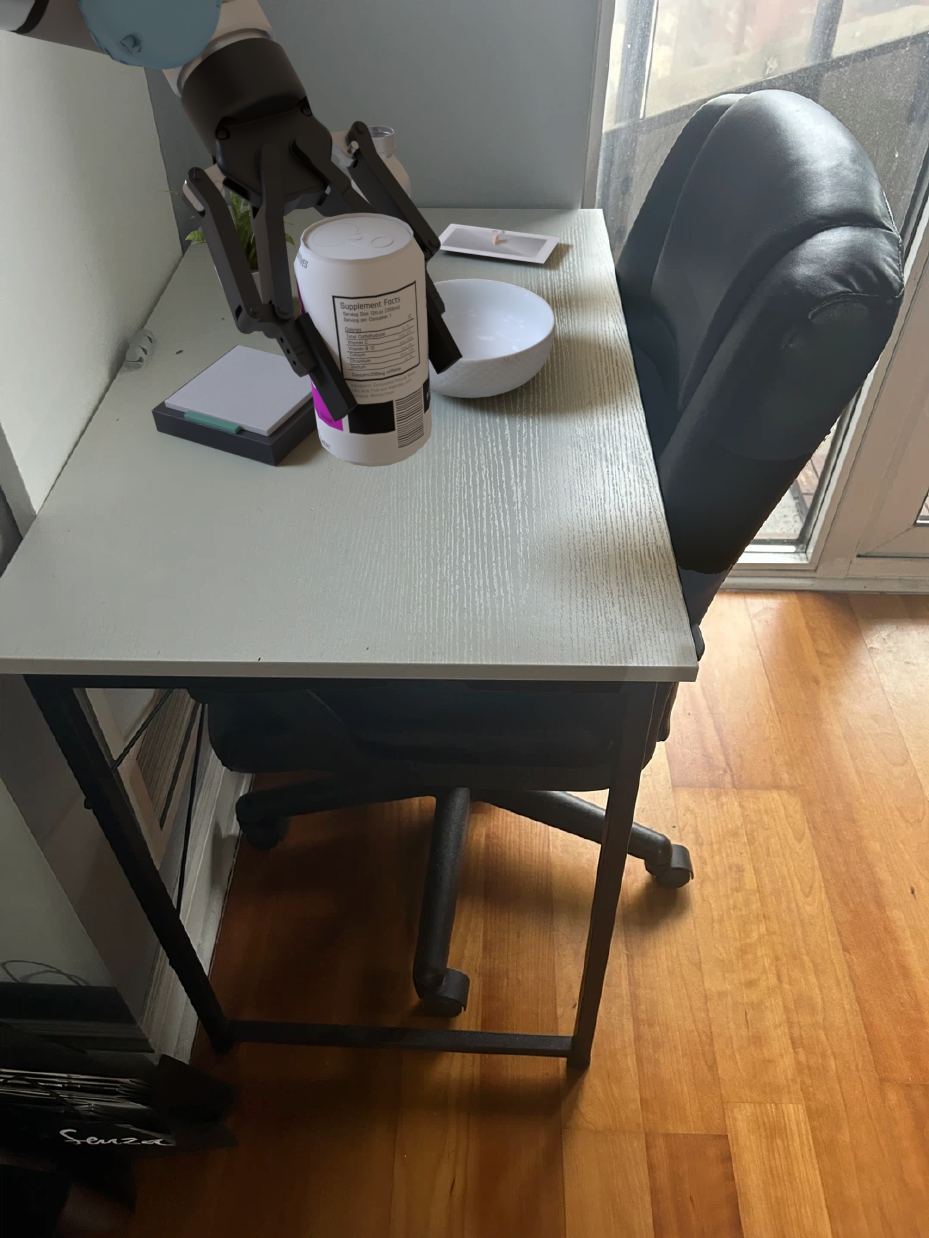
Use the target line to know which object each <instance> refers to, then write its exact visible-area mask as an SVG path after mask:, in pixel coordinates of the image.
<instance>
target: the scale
mask: <svg viewBox="0 0 929 1238" xmlns="http://www.w3.org/2000/svg"><path fill="white" fill-rule="evenodd" d="M151 414H152V418H153V420H154V424H155V427H156V431H157V432H159V433H163V434H166V435H170V436H172V437H176V438H179V439H183V440H187V441H189V442H193V443H196V444H199V445H203V446H205V447H209V448H213V449H216V450H219V451H222V452H226V453H229V454H232V455H236V456H240V457H242V458H246V459H249V460H253V461H255V462H258V463H259V462H260V463H263V464H266V465H269V466H273V467H276V466H277V465H279V464H280V463H281V462H282V461H283V460H284V459H285V458H286V457H288V455H289V454H290V453H291V452H293V450H294V449H295V448H297V447H298V446H299V445H300V444H301V443H302V442H303V441H304V440H305V439H306V438H307V437H309V436H310V434H312V432H314V431H315V430H316V429H318V427H317V421H316V414H315V407H314V400H313V393H312V386H311V379H310V376H309V374H308V375H305V376H303V377H301V378H300V377H299V376H298V375H297V374H296V373H295V372H294V371H293V369H292V367H291V365H290V363H289V362H288V360H287V358H286V356H285V355H280V354H277V353H273V352H269V351H266V350H260V349H256V348H253V347H250V346H249V347H248V346H245V345H241V344H236V345H234V346H233V347H232V348H231V349H229V350H228V351H227V352H225V353H224V354H223V355H222V356H220V357H219V358H218V359H217V360H215V361H214V362H213V363H211V364H210V365H209V366H207V367H206V368H204V369H203V370H202V371H201V372H199V373H198V374H197V375H195V376H194V377H193V378H191V379H190V380H189V381H188V382H186V383H185V384H183V386H181V387H180V388H178V389H177V390H175V391H174V392H173V393H172V394H171V395H169V396H168V397H166V398H165V399H164V400H163V401H161V402H160V403H159V404H157V405H156V406H155V407H154V408H152V409H151Z"/></svg>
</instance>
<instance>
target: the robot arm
mask: <svg viewBox="0 0 929 1238" xmlns="http://www.w3.org/2000/svg"><path fill="white" fill-rule="evenodd" d="M0 30H1V31H6V32H8V33H9V32H10V33H13V34H16V35H19V36H23V37H27V38H31V39H35V40H41V41H45V42H49V43H54V44H58V45H59V44H60V45H64V46H68V47H72V48H77V49H82V50H87V51H91V52H95V53H98V54H101V55H106V56H108V57H109V58H110V59H111V60H113V61H115V62H117V63H120V64H123V65H125V66H132V67H140V68H144V67H145V68H148V69H151V70H152V69H153V70H161V71H162V73H163V75H164V76H165V78H166V80H167V82H168V84H169V85H170V88H171V90H172V92H173V93H174V95H176V96H177V97H178V98H180V104H181V108H182V109H183V111H184V113H185V115H186V117H187V118H188V120H189V122H190V124H191V126H192V128H193V129H194V131H195V133H196V135H197V137H198V139H199V140H200V142H201V144H202V146H203V148H204V150H205V151H206V152H207V153H209V154H210V156H211V160H212V164H211V166H208V167H206V168H205V169H203V168H202V167H198V166H192V167H191V168H189V169H188V172H187V175H186V177H185V180H184V183H183V185H182V188H181V191H180V194H181V195H180V199H181V200H182V202H183V204H184V205H185V206H186V207H187V209H188V210H189V212H190V213H191V214H192V215H193V218H195V219H196V221H197V222H198V224H199V225H200V228H201V231H202V232H203V234H204V237H205V240H206V242H207V243H206V245H207V248H208V252H209V254H210V257H211V260H212V262H213V264H214V265H215V267H214V269H215V268H216V270H215V272H216V271H217V272H216V274H217V273H218V275H217V277H218V276H219V278H218V280H219V279H220V280H219V282H221V283H220V286H221V288H222V287H223V288H222V291H223V290H224V291H223V294H224V295H225V298H226V302H227V304H228V308H229V310H230V313H231V316H232V318H233V321H234V324H235V327H236V329H237V331H239V332H240V333H241V334H244V335H251V334H252V333H254V332H262V334H263V335H264V336H265V337H266V338H268V339H270V340H274V339H275V340H276V343H278V346H279V348H280V349H281V352H282V353H283V356H285V357H286V358H287V360H288V362H289V363H290V365H291V367H292V369H293V371H294V372H295V373H296V374H297V375H298V376H299V377H300V378H301V377H303V376H305V375H308V374H309V376H310V378H311V380H312V382H313V384H314V385H315V387H316V389H317V391H318V393H319V395H320V396H321V398H322V400H323V402H324V404H325V405H326V407H327V409H328V411H329V413H330V415H331V416H332V418H333V420H334V422H336V421H338V420H340V419H343V418H344V417H345V416H346V415H348V414H349V413H350V412H351V411H352V410H353V409H354V408H355V407H356V406H357V405H358V403H357V401H356V399H355V397H354V396H353V394H352V392H351V390H350V388H349V386H348V385H347V383H346V381H345V379H344V377H343V375H342V374H341V372H340V370H339V368H338V366H337V364H336V363H335V361H334V359H333V357H332V355H331V353H330V351H329V350H328V348H327V346H326V344H325V342H324V340H323V339H322V337H321V335H320V333H319V331H318V330H317V328H316V327H315V325H314V323H313V321H312V319H311V317H310V315H309V313H308V312H307V313H304V314H302V315H301V314H299V315H297V317H295V316H294V314H295V309H294V298H293V291H292V290H293V289H292V282H291V274H290V273H291V272H290V265H289V264H290V263H289V257H288V247H287V246H288V245H287V241H286V237H285V233H286V230H285V224H284V220H285V219H284V218H285V217H287V215H289V214H290V213H291V212H294V210H308V209H311V208H313V209H314V210H316V211H317V212H318V213H319V214H320V215H321V216H322V217H324V218H329V217H334V216H338V215H343V214H354V213H372V214H383V215H387V216H391V217H395V218H398V219H400V220H402V221H403V222H405V223H407V224H408V225H409V226H410V228H411V229H412V231H413V237H414V238H415V240H416V242H417V244H418V245H419V247H420V249H421V250H422V252H423V254H424V264H425V286H426V308H427V330H428V352H429V360H430V362H431V364H432V366H433V367H434V369H435V371H436V373H437V375H438V374H440V373H442V372H445V371H446V370H447V369H449V368H450V367H451V366H452V365H453V364H455V363H456V362H457V361H458V360H459V359H461V358H462V357H463V356H462V354H461V352H460V350H459V349H458V347H457V345H456V343H455V341H454V339H453V337H452V335H451V333H450V331H449V330H448V328H447V326H446V324H445V322H444V320H443V318H442V316H441V315H442V314H443V313H444V312H445V305H444V302H443V300H442V299H441V297H440V295H439V293H438V292H437V289H436V287H435V285H434V283H435V282H433V279H432V278H431V276H430V274H429V272H428V269H427V268H428V267H427V266H428V263H429V262H430V261H431V259H433V258H434V256H435V255H436V254H437V253H438V252H439V251H440V250H441V249H440V247H441V242H440V240H439V236H438V235H437V234H436V232H435V231H434V230H433V229H432V227H431V226H430V224H429V223H428V221H427V220H426V219H425V218H424V216H423V214H422V213H421V212H420V210H419V209H418V207H417V206H416V205H415V203H414V202H413V200H412V198H411V199H410V198H409V196H408V195H407V194H406V192H405V191H404V189H403V188H402V187H401V185H400V184H399V182H398V181H397V180H396V178H395V177H394V175H393V174H392V173H391V171H390V170H389V169H388V167H387V166H386V164H385V163H384V162H383V160H382V159H381V157H380V156H379V155H378V153H377V151H376V148H375V146H374V143H373V140H372V137H371V135H370V132H369V129H368V127H369V126H368V125H367V124H366V123H365V122H363V121H361V120H356V121H354V122H353V123H352V124H351V126H350V128H349V129H346V130H344V129H343V130H334V131H333V130H332V131H330V130H329V129H328V128H327V127H326V126H325V125H324V124H323V123H322V121H321V122H320V120H318V118H317V117H316V116H315V115H314V113H313V111H312V108H311V104H310V101H309V98H308V93H307V91H306V88H305V87H304V85H303V83H302V81H301V79H300V78H299V76H298V74H297V72H296V69H295V68H294V65H293V64H292V61H291V60H290V59H289V56H288V55H287V53H286V50H285V48H284V47H283V46H282V45H281V44H280V43H278V41H277V39H276V38H277V37H276V34H275V32H274V30H273V28H272V26H271V24H270V22H269V20H268V18H267V16H266V15H265V13H264V10H263V9H262V7H261V5H260V3H259V1H258V0H0ZM332 156H335V157H336V158H337V159H338V160H339V162H338V164H339V167H338V166H337V165H336V164H335V163H334V161H332ZM341 168H342V169H347V171H348V174H349V175H350V177H351V179H350V177H349V176H348V175H347V174H346V173H345V172H344V171H343V170H342V169H341ZM352 179H353V181H354V182H355V184H356V185H357V187H358V188H359V190H360V191H361V192H362V194H363V195H364V196H365V198H366V199H367V201H368V202H369V203H370V204H369V203H368V202H367V201H366V200H365V199H364V198H363V197H362V196H361V195H360V194H359V193H358V192H357V191H356V190H355V189H354V188H353V187H352V185H351V182H352ZM328 187H329V193H327V192H326V191H327V189H328ZM225 189H226V190H228V191H229V190H230V191H231V192H233V193H234V194H236V195H237V196H239V198H240V199H241V200H242V199H244V202H246V203H248V204H249V208H250V217H251V226H252V232H253V235H254V234H255V240H256V249H257V258H258V267H259V276H260V285H261V294H262V301H261V298H260V295H259V292H258V289H257V287H256V284H255V281H254V278H253V275H252V272H251V270H250V267H249V264H248V261H247V258H246V256H245V253H244V250H243V247H242V244H241V241H240V239H239V236H238V233H237V230H236V227H235V225H234V224H235V221H234V218H233V215H232V214H231V213H232V212H231V209H230V208H229V205H228V204H227V201H226V199H225V198H226V190H225ZM233 221H234V222H233ZM214 265H213V266H214Z"/></svg>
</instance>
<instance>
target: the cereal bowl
mask: <svg viewBox="0 0 929 1238" xmlns="http://www.w3.org/2000/svg"><path fill="white" fill-rule="evenodd" d="M433 283H434V285H435V287H436V289H437V292H438V293H439V295H440V297H441V299H442V300H443V302H444V305H445V312H444V313H443V314H442V315H441V316H442V318H443V320H444V322H445V324H446V326H447V328H448V330H449V331H450V333H451V335H452V337H453V339H454V341H455V343H456V345H457V347H458V349H459V350H460V352H461V354H462V356H463V357H462V358H461V359H459V360H458V361H457V362H456V363H455V364H453V365H452V366H451V367H450V368H449V369H447V370H446V371H445V372H442V373H440V374H438V375H437V373H436V371H435V369H434V367H433V366H432V364H431V362H430V360H429V374H430V392H433V393H437V394H439V395H444V396H446V397H454V398H461V399H462V398H465V399H469V398H470V399H477V398H478V399H480V398H488V397H493V396H497V395H501V394H505V393H508V392H510V391H513V390H515V389H517V388H519V387H521V386H523V385H525V384H526V383H528V382H529V381H530V380H531V379H533V378H534V377H535V376H536V375H537V374H538V373H539V372H540V371H541V370H542V368H543V367H544V365H545V364H546V362H547V360H548V359H549V356H550V354H551V351H552V347H553V344H554V340H555V334H556V327H557V326H556V315H555V313H554V310H553V308H552V307H551V305H550V304H549V303H548V301H546V300H545V298H543V297H541V296H540V295H539V294H537V293H536V292H534V291H531V290H529V289H528V288H525V287H522V286H519V285H517V284H513V283H509V282H506V281H502V280H497V279H496V280H495V279H486V278H457V279H447V280H443V281H441V280H440V281H437V282H433Z"/></svg>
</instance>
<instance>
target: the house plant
mask: <svg viewBox="0 0 929 1238" xmlns="http://www.w3.org/2000/svg"><path fill="white" fill-rule="evenodd" d="M160 192H161V193H162V192H163V193H164V192H165V193H171V194H176V195H178V196H181V193H179V192H177V191H172V190H163V189H162V190H159V193H160ZM228 193H229V197H230V207H231V213H232V214H231V215H232V218H233V222H234V225H235V227H236V230H237V233H238V236H239V239H240V241H241V244H242V247H243V250H244V253H245V256H246V258H247V261H248V264H249V267H250V270H251V272H252V275H253V278H254V281H255V284H256V287H257V289H258V292H259V295H260V298H261V301H262V294H261V285H260V276H259V267H258V258H257V249H256V240H255V234H254V233H253V232H252V226H251V217H250V208H249V203H248V204H247V206H246V208H247V209H246V210H244V211H242V209H243V205H244V204H245V200H244V199H242V198H241V197H239V196H237V195H236V194H234V193H233V192H231V191H230V190H228ZM193 218H194V216H191V219H193ZM283 220H284V225H285V224H289V225H292V226H295V224H294V223H292V222H289V221H288V220H287V219H283ZM285 237H286V242H288V243H290V244H291V245H292V246H293V247H294V248H296V245H295V241H294V238H293V237H292V236H291V235H289V234H288V233H286V232H285ZM186 240H187V241H194V242H193V243H192V245H196V244H197V245H198V244H205V243H206V244H207V242H206V240H205V237H204V234H203V231H202V230H193V231H191V232H189V233H188V235H187V236H186V237H185V241H186ZM213 267H214V270H215V273H216V275H217V277H218V280H219V282H220V279H219V276H218V273H217V271H216V268H215V265H213ZM220 284H221V282H220ZM221 288H222V291H223V292H224V290H223V287H222V286H221Z"/></svg>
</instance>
